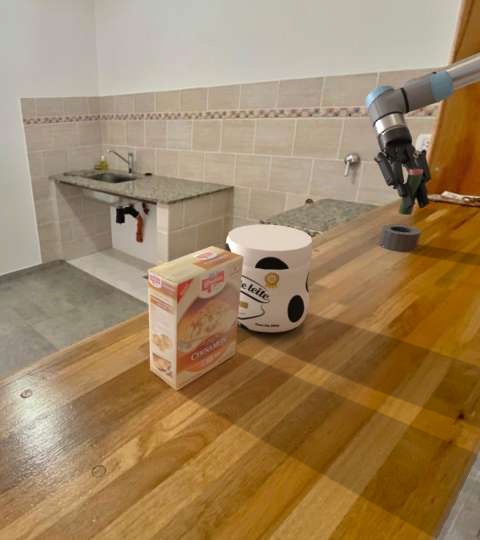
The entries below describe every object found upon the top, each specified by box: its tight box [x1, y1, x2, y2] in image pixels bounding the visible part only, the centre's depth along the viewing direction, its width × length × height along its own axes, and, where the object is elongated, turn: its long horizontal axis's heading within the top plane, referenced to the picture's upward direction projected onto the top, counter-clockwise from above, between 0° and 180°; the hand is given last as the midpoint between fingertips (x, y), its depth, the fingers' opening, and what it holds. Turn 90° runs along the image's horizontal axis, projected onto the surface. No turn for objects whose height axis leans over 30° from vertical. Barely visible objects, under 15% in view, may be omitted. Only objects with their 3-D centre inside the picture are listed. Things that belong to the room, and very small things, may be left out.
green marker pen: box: [398, 169, 423, 216], centre depth 104 cm, size 3×3×12 cm
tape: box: [378, 224, 422, 252], centre depth 109 cm, size 9×9×5 cm
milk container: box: [224, 224, 313, 335], centre depth 76 cm, size 17×17×18 cm
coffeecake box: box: [147, 245, 244, 392], centre depth 64 cm, size 15×7×20 cm, turn 126°
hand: (417, 205), depth 101 cm, fingers closed on green marker pen, 3 cm apart
